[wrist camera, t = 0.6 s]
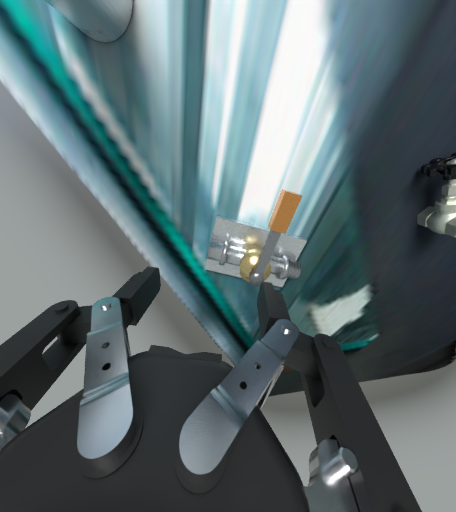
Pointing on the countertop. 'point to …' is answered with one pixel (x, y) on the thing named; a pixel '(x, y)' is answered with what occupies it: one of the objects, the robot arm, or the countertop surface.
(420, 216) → the valve
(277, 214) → the valve lever
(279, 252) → the valve manifold
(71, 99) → the countertop surface
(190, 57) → the countertop surface
